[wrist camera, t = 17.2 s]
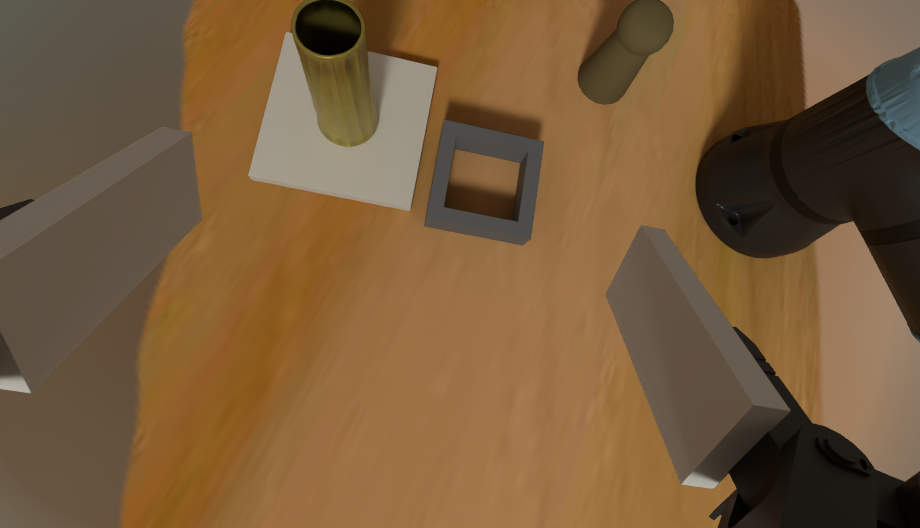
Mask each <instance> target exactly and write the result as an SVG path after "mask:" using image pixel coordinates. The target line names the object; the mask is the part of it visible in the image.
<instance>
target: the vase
mask: <svg viewBox="0 0 920 528" xmlns="http://www.w3.org/2000/svg"><path fill="white" fill-rule="evenodd" d="M291 28H292V35H293V39H294V42H295V45H296V48H297V51H298V54H299V57H300V60H301V64H302V67H303V71H304V74H305V78H306V81H307V84H308V88H309V91H310V94H311V97H312V101H313V105H314V108H315V111H316V113H317V123H318V126H319V129H320V131H321V132H322V134H323V135H324V136H325V137H326V138H327V139H328V140H329V141H331V142H332V143H334V144H337V145H340V146H345V147H353V146H357V145H361V144H363V143H365V142H367V141H368V140H369V139H370V138H371V137H372V136H373V135H374V133H375V132H376V129H377V126H378V121H379V120H378V114H377V110H376V106H375V101H374V95H373V90H372V83H371V73H370V68H369V63H368V47H367V37H366V29H365V22H364V19H363V16H362V14H361V13H360V12H359V10H358V9H357V8H356V7H355V6H354V5H353V4H352V3H351V2H349V1H348V0H304V1H303V2H302V3H301V4H300V5H298V7H297V8H296V9H295V11H294V14H293V16H292V20H291Z"/></svg>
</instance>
